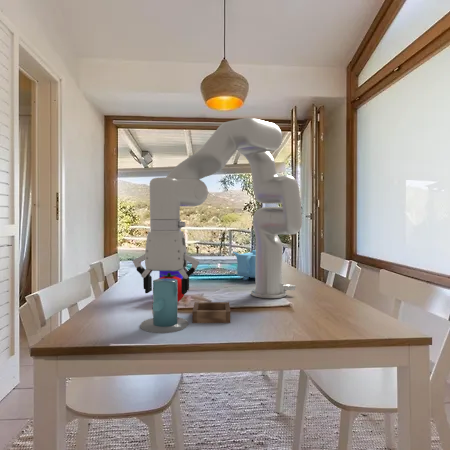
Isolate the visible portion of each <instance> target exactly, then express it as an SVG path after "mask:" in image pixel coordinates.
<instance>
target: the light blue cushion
mask: <svg viewBox="0 0 450 450" xmlns="http://www.w3.org/2000/svg"><path fill="white" fill-rule="evenodd" d="M232 253H233V254H234V255H235V257H236V262H237V275H236V276H237V277H243V278H242V281H248V280H249V277H250V279H255V278H256V249H253V250H252V251H251V252H246V253H238V252H235V251H232Z"/></svg>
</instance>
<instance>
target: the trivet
mask: <svg viewBox="0 0 450 450" xmlns="http://www.w3.org/2000/svg"><path fill="white" fill-rule="evenodd" d="M187 327H189V321H188V320H187V319H185V318H183V317H179V316H177V324H176V325H173V326H168V327H159V326H155V325H153V317H152V318H148V319H144V320H143V321H142V322H141V323H140V329H141V330H143V331H145V332H148V333H153V334H154V333H155V334H168V333H176V332H180V331H183V330H185V329H186V328H187Z"/></svg>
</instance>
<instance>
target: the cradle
mask: <svg viewBox="0 0 450 450" xmlns="http://www.w3.org/2000/svg"><path fill="white" fill-rule="evenodd" d="M191 320H192V324H231V305H230V302H229V301H227V302H226V301H222V302H221V301H214V302H213V301H212V302H211V301H195V302H194V305H193V308H192V319H191Z"/></svg>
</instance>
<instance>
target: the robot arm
mask: <svg viewBox="0 0 450 450" xmlns="http://www.w3.org/2000/svg"><path fill="white" fill-rule="evenodd" d="M282 143H283V133H282V130H281V129H280V127H279V126H278V125H277V124H275V123H274V122H269V121H265V120H262V119H258V118H253V117H244V118H238V119H234V120H229V121H225V122H223V123H221V124H220V125H219V126H218V127H217V129H216V130H215V131H214V132H213V133H212V135H211V136H210V137H209V138H208V140H207V141H206V142H205V144H203V146H202V147H201V148H200V149H199V150H197V151H196V152H195V153H193V154H191V155H190V156H188V157H187V158H186V159H184V160H183V161H182V162H180V163H178V164H177V165H176V166H174V168H173V169H172V170H170V172H169V173H168V174H167V175H166V176H165V177H164V176H163V177H155V178H152V179H151V180H150V181H149V220H150V221H149V222H150V223H149V228H150V229H149V230H150V231H148V232H147V234H146V242H145V251H144V252H145V253H144V254H142V255H141V256H139V257H137V258H135V259H133V261H132V263H133V265H134V266H135V268H136V271H137V273H139V274H140V276H141V277H142V278H143V290H144V293H145V294H148V293H151V292H153V281H152V279H153V278H152V275H151V274H152V272H159V271H179V273H180V274H181V275H182V276H183V278H182V279H181V288H182V294H184V295H185V294H187V293H188V291H189V290H190V277H191V275H193V274H194V273H195V271H197V268H198V266H199V263H200V260H199V259H197V258H195V257H193V256H192V255H189V254H188V253H187V244H186V237H185V234H184V233H185V232H184V231H180V230H181V229H182V228H185V227H186V221H182V220H181V209H180V207H197V206H200V205H202V204H203V203H204V202H206V200H207V198H208V197H209V196H208V195H209V191H208V187H207V185H206V183H205V182H204V181H203V180H201V179H204V178H206V177H210V176H212V175H215V174H216V173H218V172H220V171H221V170H223V169H224V168H225V166H226V165H227V164H228V163H229V160H230V159H231V158H232V157H233V155H234V154H235V153H236V151H237V152H239V153H240V154H241V155H242V156H243V157H244V158H245V159H246V160H247V162H248V164H249V166H250V169H251V170H250V171H251V178H252V179H251V180H252V187H253V193H254V198H255V200H256V202H257V203H259V204H260V203H261V204H265V205H266V204H267V205H270V204H273V205H274V204H277V205H278V204H281V206H264V207H260V208H258V209H257V210H256V211H255V212H254V214H253V217H252V224H253V229H254V235H255V236H254V237H255V250H256V278H254V280H255V287H254V289H252V290H250V295H251V296H253V297H256V298H261V299H280V298H285V297H286V296H287V291H296V284H290V283H289V284H288V283H286V284H285V283H284V282H283V244H282V241H281V239H280V237H279V236H278V235H296V234H298V233H299V232H300V230H301V229H302V225H303V216H302V214H303V212H302V206H301V205H302V204H301V202H302V201H301V194H300V193H301V192H300V187H299V184H298V181H297V180H296V178H294V176H292V175H287V174H286V175H285V174H284V175H282V174H281V175H278V174H277V168H276V161H275V159H274V157H273V155H272V154H271V153H270V152H274V151H277V150H278V149H280V147H281V145H282ZM143 261H144V264H145V265H144V266H145V267H144V266H142V262H143ZM188 262H189V263H190V264H191V267H190V268H189V269H187V267H188Z"/></svg>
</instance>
